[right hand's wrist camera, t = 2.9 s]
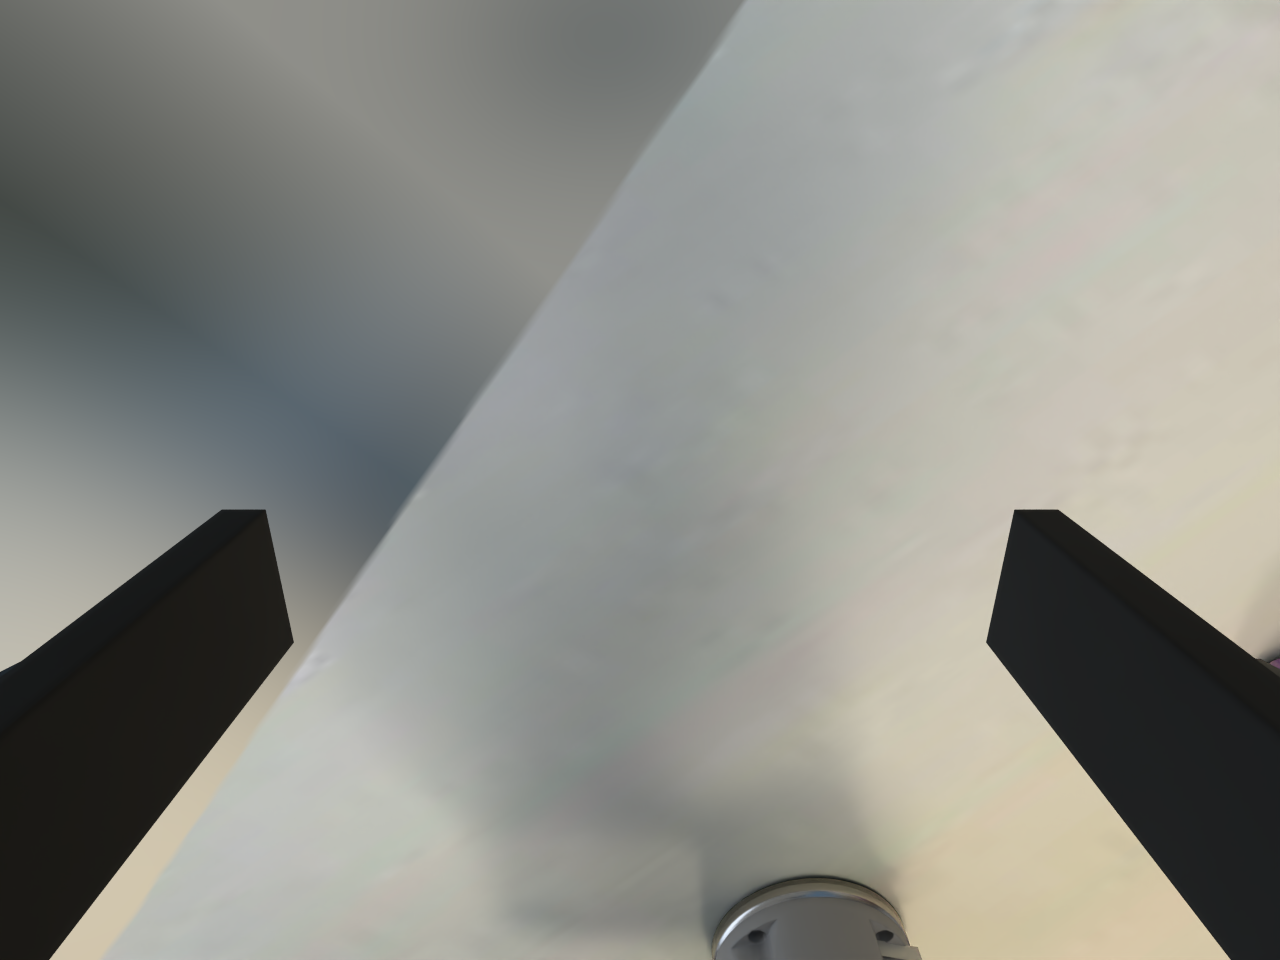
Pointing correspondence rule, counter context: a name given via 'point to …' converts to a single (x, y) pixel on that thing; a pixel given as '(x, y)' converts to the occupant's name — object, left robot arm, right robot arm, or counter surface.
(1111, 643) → the right robot arm
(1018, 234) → the counter surface
